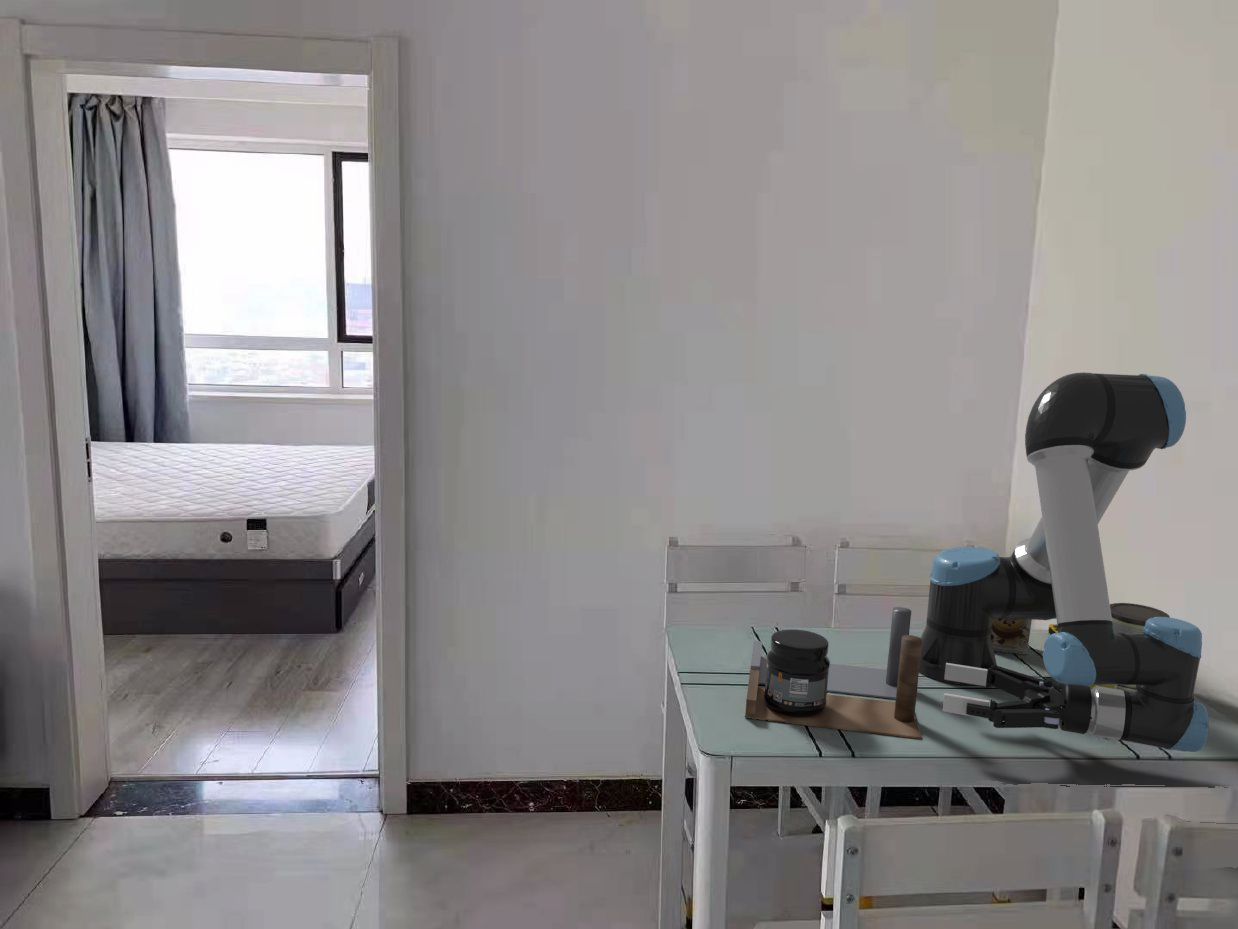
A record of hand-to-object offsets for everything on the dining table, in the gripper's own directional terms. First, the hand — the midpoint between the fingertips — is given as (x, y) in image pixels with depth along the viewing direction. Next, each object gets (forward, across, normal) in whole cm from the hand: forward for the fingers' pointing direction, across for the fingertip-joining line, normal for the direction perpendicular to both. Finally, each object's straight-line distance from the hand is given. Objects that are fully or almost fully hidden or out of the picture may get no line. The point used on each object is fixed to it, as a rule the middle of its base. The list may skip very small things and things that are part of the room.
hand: (944, 686), depth 152 cm
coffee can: (-33, +38, -8) cm, 51 cm away
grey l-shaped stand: (+20, +15, -8) cm, 26 cm away
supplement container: (+23, -1, -8) cm, 25 cm away
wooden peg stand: (+18, 0, -8) cm, 19 cm away
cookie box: (-11, +47, -8) cm, 49 cm away
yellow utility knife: (-25, +58, -8) cm, 63 cm away
